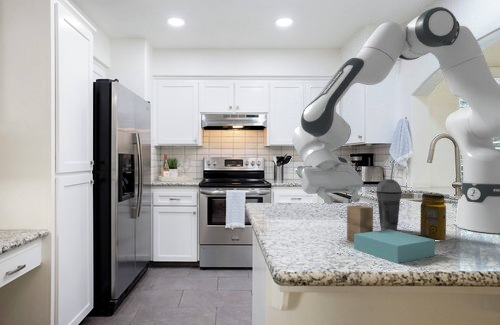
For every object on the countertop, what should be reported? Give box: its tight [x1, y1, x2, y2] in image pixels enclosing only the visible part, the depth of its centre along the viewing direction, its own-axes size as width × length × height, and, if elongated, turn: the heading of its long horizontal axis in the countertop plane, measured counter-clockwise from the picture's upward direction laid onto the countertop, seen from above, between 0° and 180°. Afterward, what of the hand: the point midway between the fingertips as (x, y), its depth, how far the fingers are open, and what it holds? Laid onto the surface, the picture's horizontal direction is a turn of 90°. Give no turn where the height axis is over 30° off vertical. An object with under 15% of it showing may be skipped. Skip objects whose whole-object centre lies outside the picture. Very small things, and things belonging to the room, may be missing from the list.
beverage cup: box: [375, 164, 403, 231], centre depth 96 cm, size 7×7×20 cm
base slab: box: [353, 229, 436, 264], centre depth 72 cm, size 12×12×4 cm
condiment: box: [415, 193, 453, 244], centre depth 86 cm, size 7×8×12 cm
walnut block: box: [346, 204, 374, 243], centre depth 83 cm, size 4×4×9 cm
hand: (344, 202), depth 88 cm, fingers open, 8 cm apart
